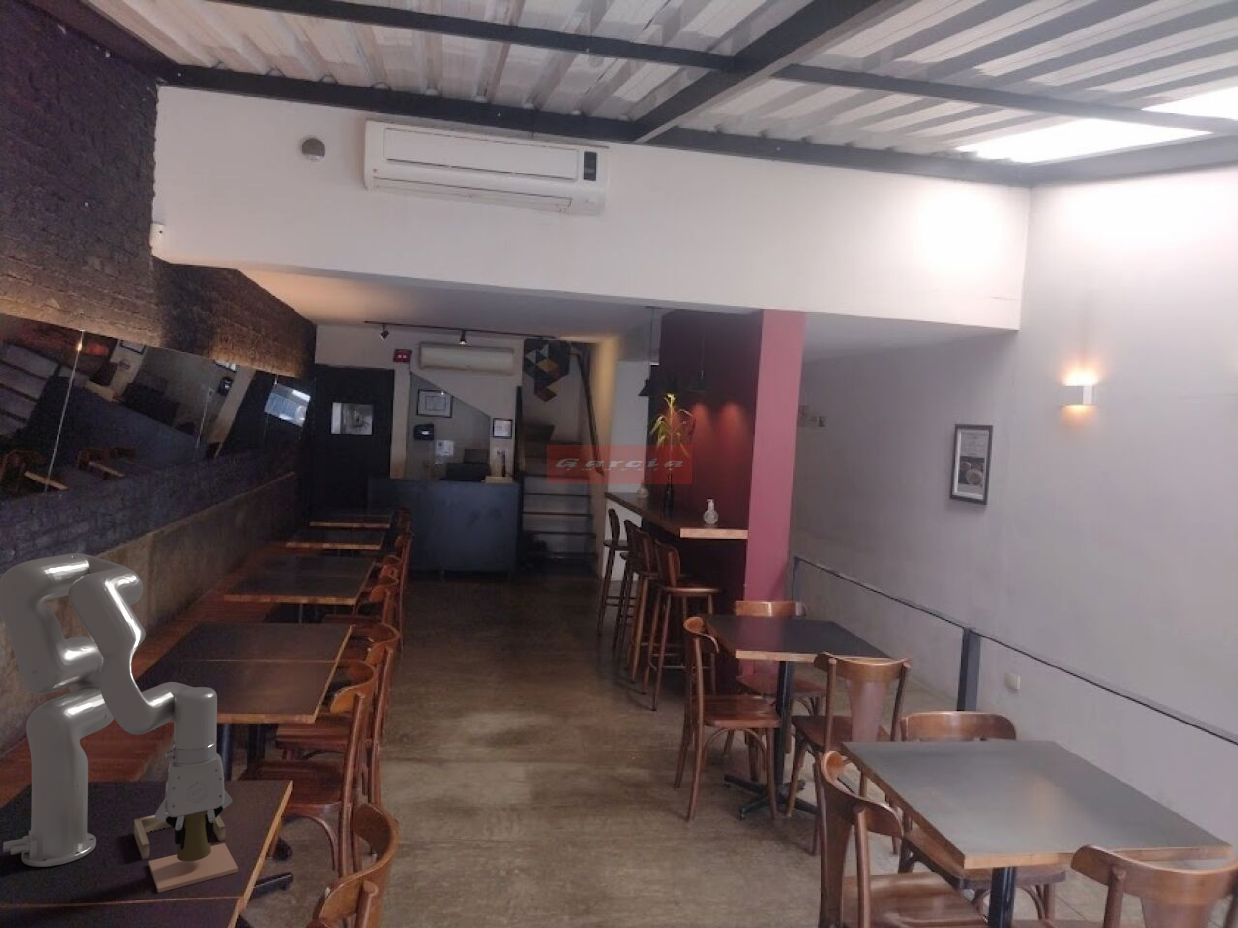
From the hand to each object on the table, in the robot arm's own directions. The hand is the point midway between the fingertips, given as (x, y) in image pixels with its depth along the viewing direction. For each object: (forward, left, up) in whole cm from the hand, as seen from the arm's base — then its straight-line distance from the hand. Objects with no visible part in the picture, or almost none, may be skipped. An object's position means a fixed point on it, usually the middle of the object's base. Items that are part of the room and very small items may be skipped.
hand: (194, 842), depth 167 cm
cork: (0, 0, -2) cm, 2 cm away
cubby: (0, +15, -5) cm, 16 cm away
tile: (0, 0, -5) cm, 5 cm away
